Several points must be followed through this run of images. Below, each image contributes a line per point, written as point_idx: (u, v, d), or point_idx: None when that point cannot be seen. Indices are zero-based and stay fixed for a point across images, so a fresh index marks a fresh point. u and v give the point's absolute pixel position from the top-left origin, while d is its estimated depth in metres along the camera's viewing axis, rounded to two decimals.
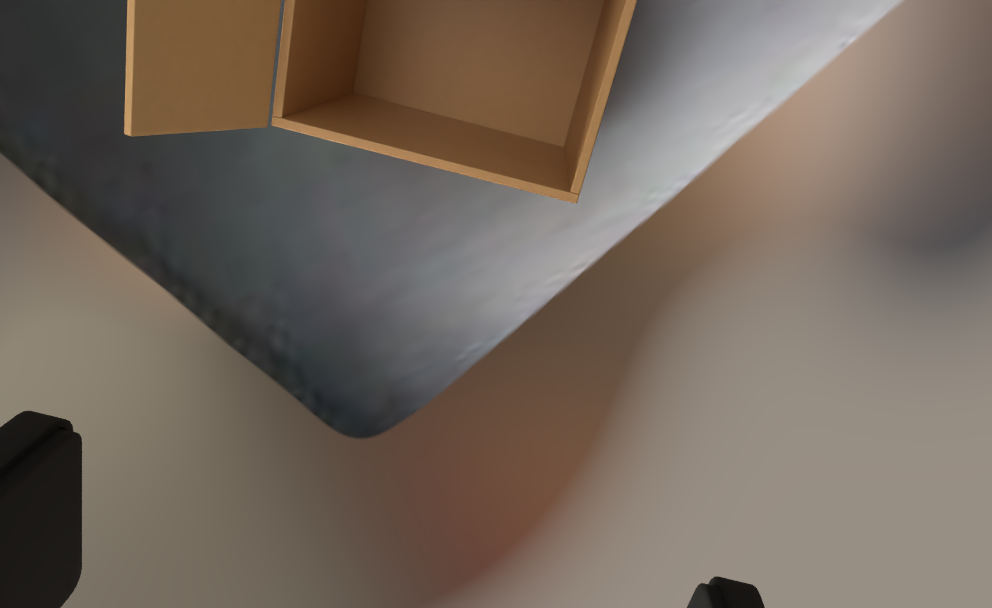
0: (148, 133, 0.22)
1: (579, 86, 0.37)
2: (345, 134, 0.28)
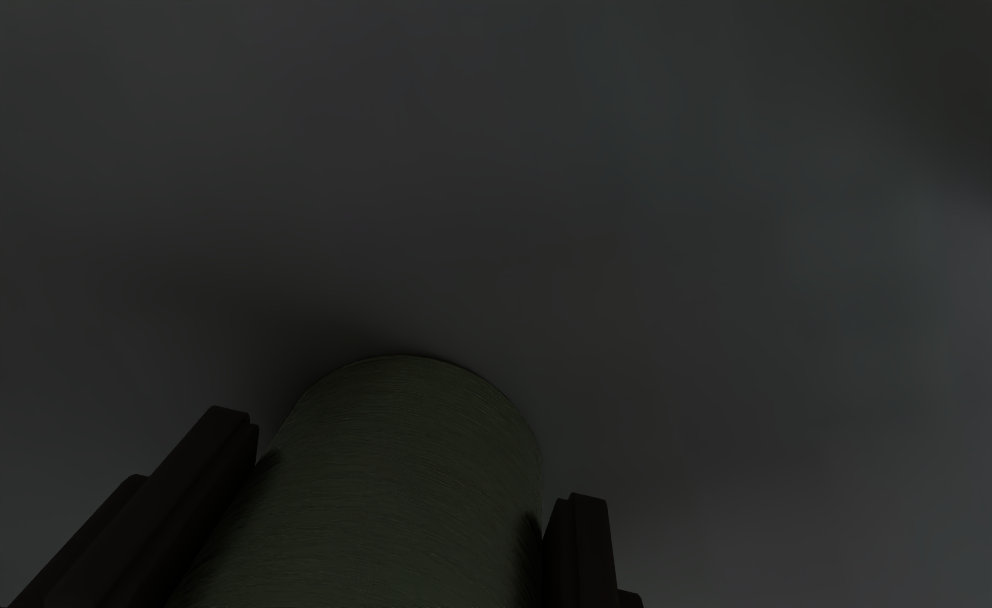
0: None
1: None
2: None
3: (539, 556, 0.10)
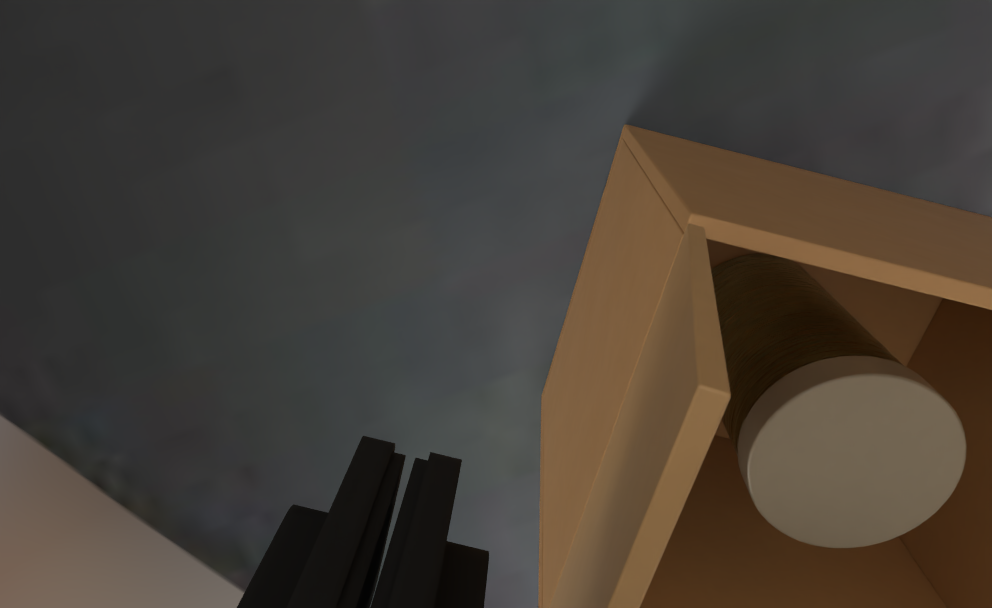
0: None
1: None
2: None
3: None
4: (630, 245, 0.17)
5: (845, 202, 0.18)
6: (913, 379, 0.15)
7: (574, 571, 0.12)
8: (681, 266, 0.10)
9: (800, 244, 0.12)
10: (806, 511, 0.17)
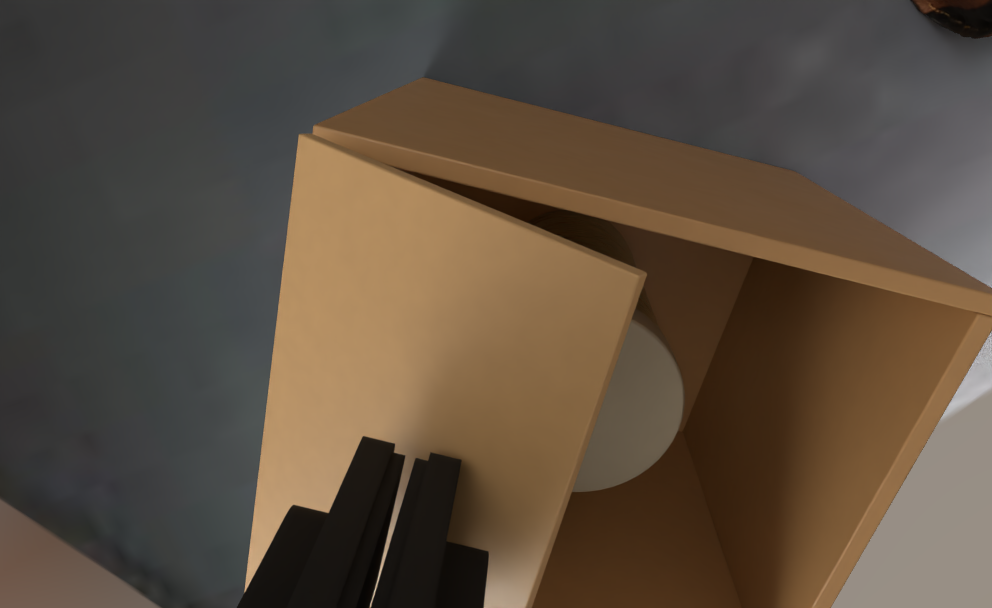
0: None
1: (710, 357, 0.25)
2: None
3: None
4: None
5: (593, 143, 0.18)
6: None
7: None
8: (363, 183, 0.11)
9: (427, 157, 0.12)
10: None
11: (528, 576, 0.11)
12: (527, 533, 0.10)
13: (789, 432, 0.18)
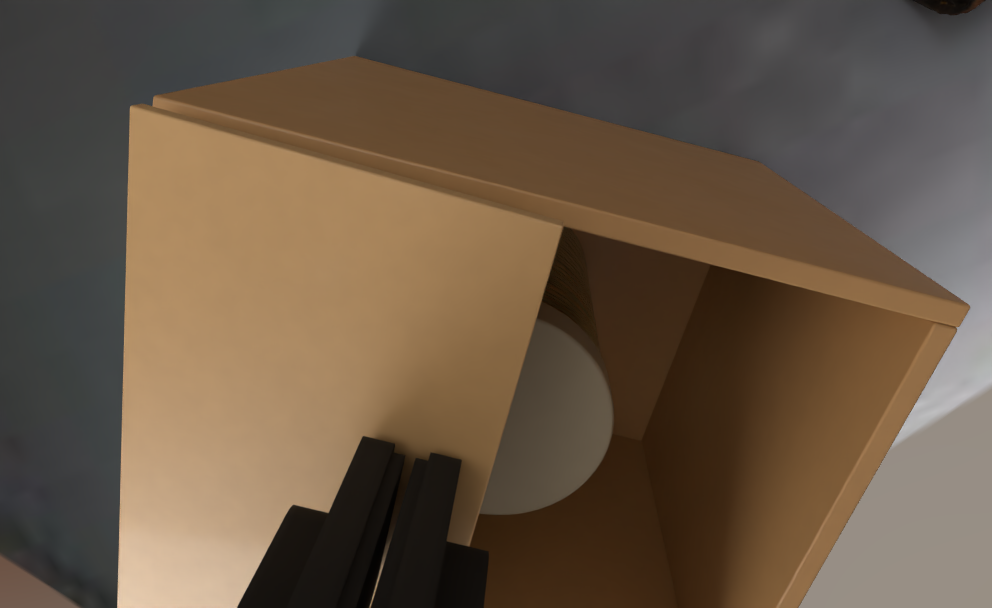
0: None
1: (670, 362, 0.23)
2: None
3: None
4: None
5: (522, 126, 0.16)
6: (537, 317, 0.13)
7: (244, 485, 0.12)
8: (232, 158, 0.10)
9: (287, 134, 0.10)
10: None
11: (469, 519, 0.11)
12: (464, 480, 0.11)
13: (739, 449, 0.16)
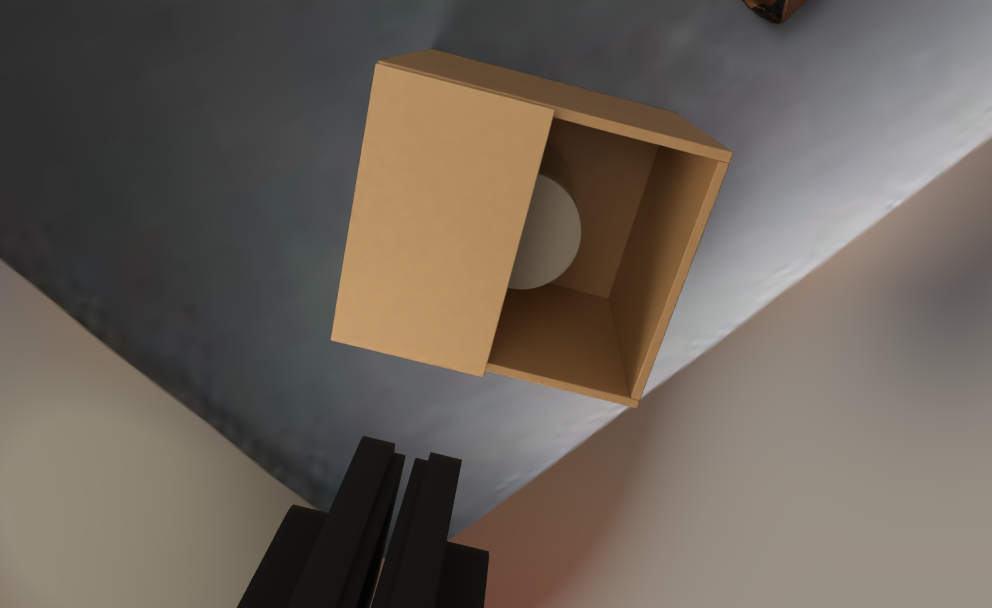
0: None
1: (625, 243, 0.37)
2: None
3: None
4: None
5: (534, 84, 0.29)
6: (542, 174, 0.27)
7: (408, 242, 0.25)
8: (418, 84, 0.23)
9: (435, 76, 0.24)
10: None
11: (514, 249, 0.25)
12: (512, 229, 0.25)
13: (653, 262, 0.30)
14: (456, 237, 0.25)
